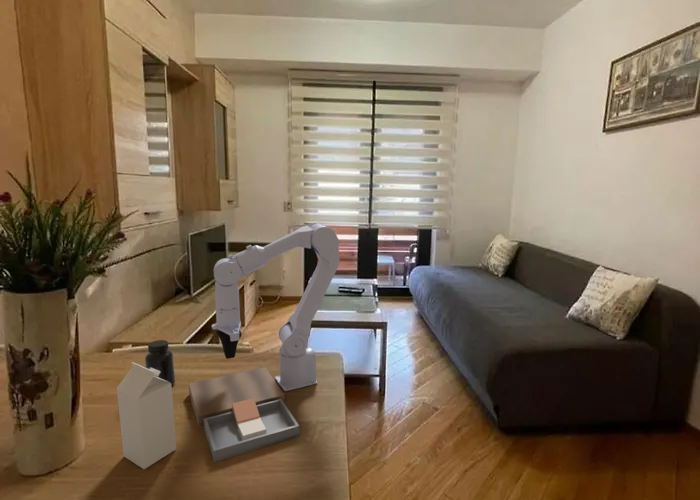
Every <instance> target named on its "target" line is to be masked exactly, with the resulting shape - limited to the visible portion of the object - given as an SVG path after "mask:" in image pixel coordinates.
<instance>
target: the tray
mask: <svg viewBox="0 0 700 500" xmlns="http://www.w3.org/2000/svg"><path fill="white" fill-rule="evenodd" d="M256 406H257V409H258V412H259V415H260V418H261V420H262V422H263V424H264V426H265V428H266V434H263V435H260V436H257V437H253V438H250V439H246V440H243V441H242V438H241V436H240V434H239V431H238V426H237V425H236V421H235V417H234V413H233V411H232V412H228V413H224V414H220V415H216V416H212V417H209V418H205V419H204V427H203V429H204V433H205V437H206V440H207V443H208V445H209V446H208V447H209V450H210V452H211V456H212V459H213V463H216V462H220V461H222V460H226V459H229V458H232V457H236V456H238V455H243V454H246V453H249V452H252V451H255V450H258V449H262V448H266V447H268V446H271V445H275V444H278V443H281V442H285V441H289V440H291V439H295V438H298V437H300V434H301V433H300V424H299V423H298V422H297V420H296V418H295V417H294V415H293V414H292V412H291V411H290V410H289V408H288V406H287V405H286V404H284V402H283V401H282V399H279V400H275V401H271V402H267V403H263V404H259V405H256Z"/></svg>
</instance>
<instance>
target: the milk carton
mask: <svg viewBox="0 0 700 500" xmlns="http://www.w3.org/2000/svg"><path fill="white" fill-rule="evenodd" d="M159 374H160V371H158V370H156V369H153V368H150V369H147V368H146V367H144V366H142V365H141V364H138V363H135V362H134V361H132V362H131V369H130V370H129V371H128V372H127V374H126V375H125V376H124V378H123V379H122V380H121V381H120V383H119V384H118V386H116V395H117V404H118V405H117V406H118V413H119V414H118V415H119V416H118V417H119V424H120V432H121V433H120V434H121V443H122V451H123V452H122V453H123V457H125V458H126V459H127V460H128V461H130V462H132V463H134V464H135V465H136V466H138V467H140V468H141V469H142V470H146V469H147V468H148V467H151V466H152V465H154V464H155V463H157V462H159V461H160V460H162V458H163V459H164V458H165V457H166V456H168V455H170V454H171V453H173V452H174V451H176V450H177V442H176V428H175V427H176V426H175V416H174V414H175V413H174V402H173V389H172V387H173V386H172V387H171V383H170V382H167V381H165V380H163V379H161V378H159V377H158V376H159Z"/></svg>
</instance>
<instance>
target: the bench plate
mask: <svg viewBox="0 0 700 500" xmlns="http://www.w3.org/2000/svg"><path fill="white" fill-rule="evenodd" d="M282 390H283V389H281V387H280V385H279V384H278V382H277V381H276V379H274V378H273V376H272V375H271V373H270V371H269V370H268V369H267V367H265V366H264V367H261V368H255V369H251V370H246V371H240V372H237V373H232V374H227V375H223V376H217V377H214V378H209V379H205V380H199V381H194V382H190V383H188V391H189V393H188V394H189V398H190V401H191V405H192V408H193V412H194V416H195V420H196V423H197V426H198V429H204V419H205V418H209V417H212V416H216V415H220V414H224V413H228V412H232V411H233V410H232V403H236V402H240V401H244V400H248V399H252V398H254V400H255V403H256V405H259V404H263V403H267V402H271V401H275V400H279V399H282V401H283V402H284V404H285V403H286V402H285V401H286V400H285V394H284V392H283V391H282ZM285 405H286V404H285Z"/></svg>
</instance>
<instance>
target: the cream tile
mask: <svg viewBox="0 0 700 500" xmlns="http://www.w3.org/2000/svg"><path fill="white" fill-rule="evenodd" d="M237 426H238V431H239V434H240V436H241V438H242V441H243V440H246V439H250V438H253V437H257V436H260V435H263V434H266V428H265V426H264V424H263V422H262V420H261V418H260V417H258V418H254V419H251V420H247V421H243V422H239V423H237Z"/></svg>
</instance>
